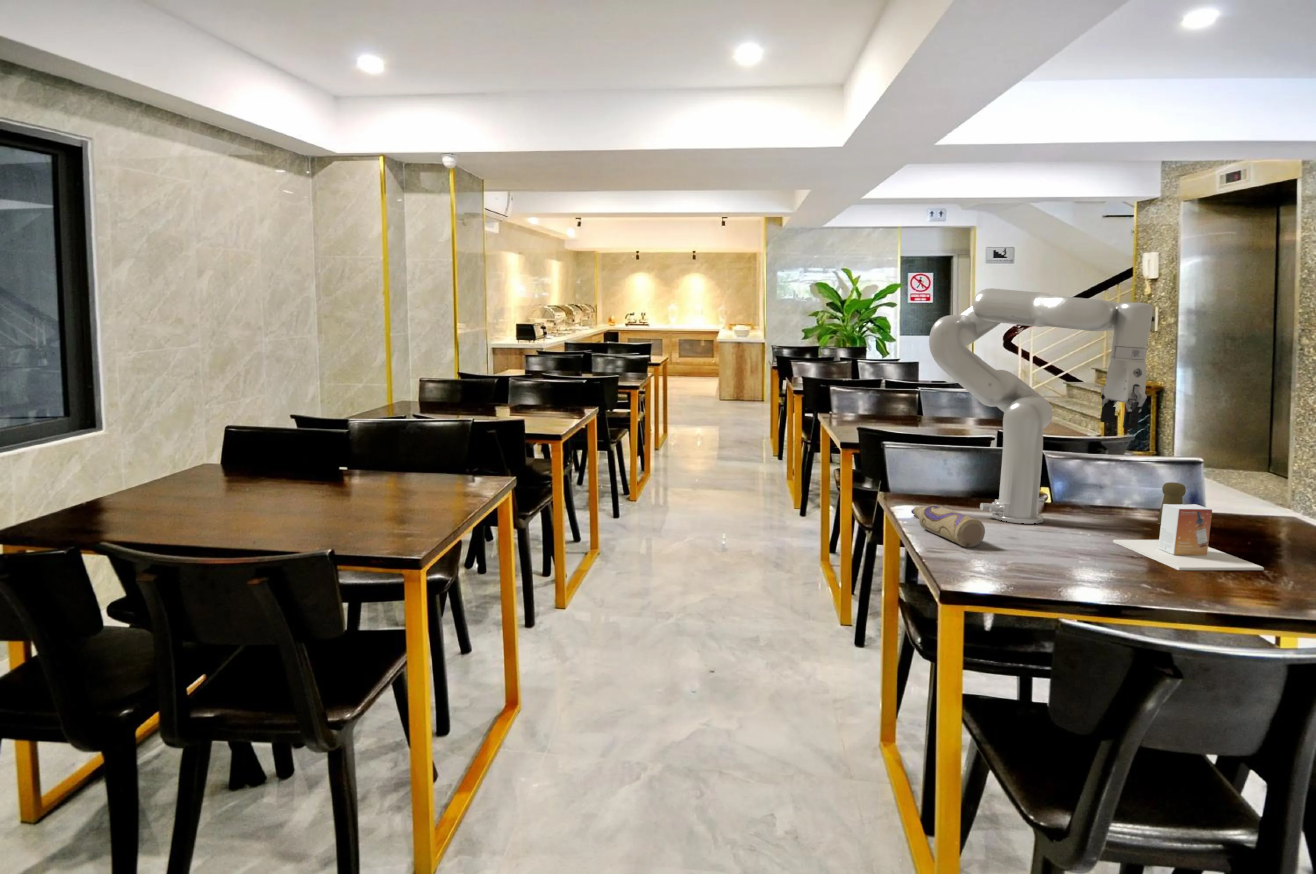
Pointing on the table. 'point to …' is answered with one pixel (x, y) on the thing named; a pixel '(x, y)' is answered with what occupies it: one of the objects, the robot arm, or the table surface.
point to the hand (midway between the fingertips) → (1118, 425)
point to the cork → (1172, 495)
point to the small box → (1185, 529)
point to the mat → (1188, 557)
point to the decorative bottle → (950, 525)
